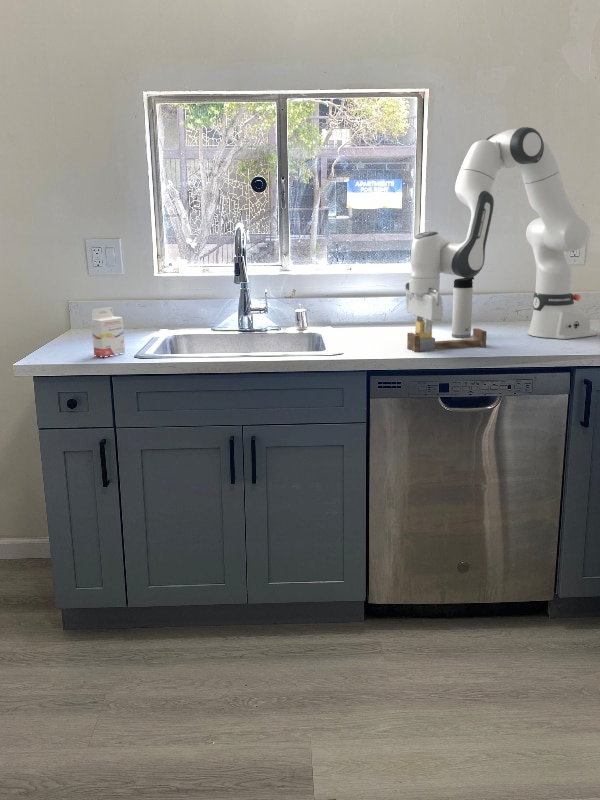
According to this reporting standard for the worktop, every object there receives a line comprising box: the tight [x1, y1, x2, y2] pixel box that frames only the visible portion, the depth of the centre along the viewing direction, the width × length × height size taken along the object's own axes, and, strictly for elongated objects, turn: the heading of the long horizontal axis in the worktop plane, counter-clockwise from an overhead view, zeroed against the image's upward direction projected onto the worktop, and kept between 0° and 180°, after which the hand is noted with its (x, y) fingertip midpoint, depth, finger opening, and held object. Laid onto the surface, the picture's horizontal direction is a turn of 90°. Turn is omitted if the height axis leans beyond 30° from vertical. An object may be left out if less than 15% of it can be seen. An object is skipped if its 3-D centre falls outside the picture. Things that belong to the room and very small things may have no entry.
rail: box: [406, 327, 488, 353], centre depth 230 cm, size 24×6×5 cm, turn 104°
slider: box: [414, 319, 436, 352], centre depth 228 cm, size 5×6×9 cm
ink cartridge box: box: [90, 306, 126, 357], centre depth 228 cm, size 9×5×15 cm, turn 141°
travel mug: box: [451, 276, 475, 339], centre depth 246 cm, size 6×7×20 cm
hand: (423, 331), depth 227 cm, fingers closed on slider, 3 cm apart
